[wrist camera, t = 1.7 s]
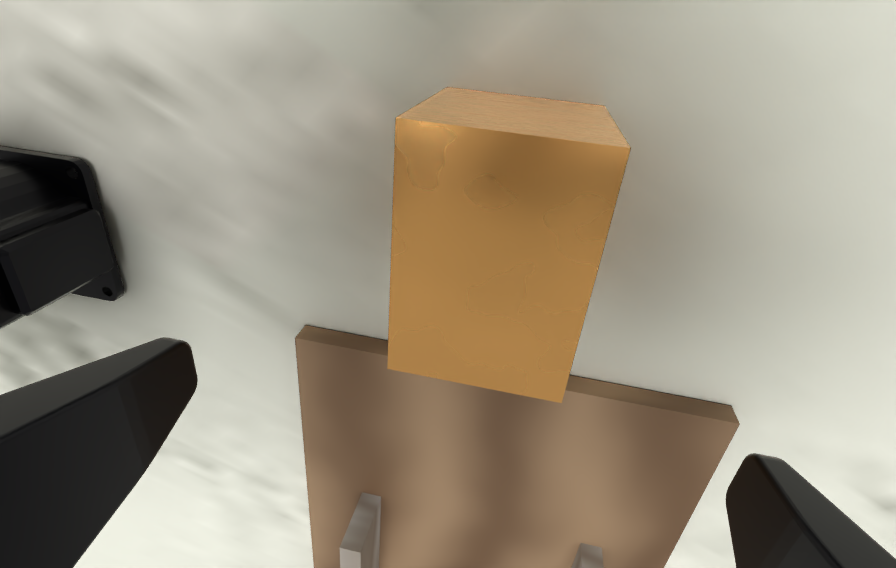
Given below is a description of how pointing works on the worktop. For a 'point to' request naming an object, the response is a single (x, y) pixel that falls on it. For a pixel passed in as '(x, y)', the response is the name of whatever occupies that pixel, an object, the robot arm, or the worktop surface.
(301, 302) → the worktop surface
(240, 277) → the worktop surface
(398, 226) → the block
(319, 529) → the bracket board
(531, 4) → the worktop surface
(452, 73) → the worktop surface
